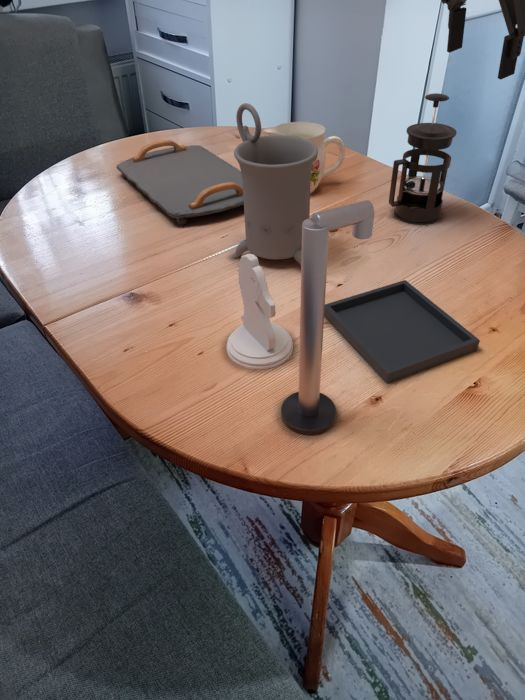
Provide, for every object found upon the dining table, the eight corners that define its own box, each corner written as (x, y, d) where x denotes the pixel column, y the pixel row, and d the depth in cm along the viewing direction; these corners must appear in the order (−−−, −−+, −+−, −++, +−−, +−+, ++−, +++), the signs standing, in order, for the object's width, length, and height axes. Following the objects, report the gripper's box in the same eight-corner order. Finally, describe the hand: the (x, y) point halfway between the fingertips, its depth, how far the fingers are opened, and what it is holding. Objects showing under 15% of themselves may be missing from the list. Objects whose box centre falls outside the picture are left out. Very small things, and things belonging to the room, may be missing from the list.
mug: (338, 258, 98) (348, 115, 82) (275, 287, 91) (273, 139, 75) (273, 222, 110) (271, 90, 93) (213, 245, 103) (200, 108, 87)
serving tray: (276, 205, 115) (276, 177, 111) (179, 235, 106) (174, 206, 102) (196, 152, 141) (193, 127, 137) (111, 172, 132) (106, 147, 128)
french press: (430, 201, 115) (451, 85, 100) (452, 221, 108) (479, 99, 93) (378, 208, 113) (392, 91, 98) (397, 229, 106) (416, 106, 91)
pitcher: (349, 194, 118) (355, 130, 110) (270, 203, 116) (268, 139, 107) (334, 175, 127) (338, 114, 118) (260, 183, 124) (258, 122, 115)
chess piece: (248, 379, 74) (242, 289, 65) (215, 341, 81) (205, 254, 71) (306, 353, 78) (308, 264, 68) (270, 319, 85) (267, 234, 75)
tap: (337, 382, 74) (354, 186, 55) (366, 416, 69) (395, 214, 50) (272, 406, 70) (267, 207, 52) (296, 443, 66) (300, 238, 47)
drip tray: (403, 289, 90) (405, 279, 89) (477, 350, 78) (480, 340, 76) (322, 315, 85) (322, 304, 84) (386, 384, 73) (388, 373, 72)
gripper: (425, -95, 84) (418, 46, 101) (541, -65, 69) (510, 96, 85) (466, -110, 85) (452, 33, 102) (589, -83, 70) (549, 80, 86)
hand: (478, 62), depth 94 cm, fingers open, 13 cm apart
